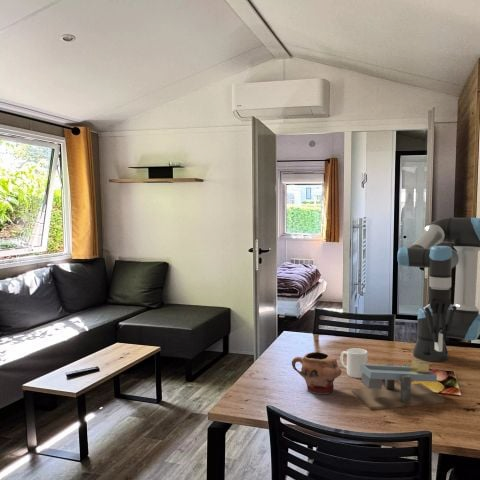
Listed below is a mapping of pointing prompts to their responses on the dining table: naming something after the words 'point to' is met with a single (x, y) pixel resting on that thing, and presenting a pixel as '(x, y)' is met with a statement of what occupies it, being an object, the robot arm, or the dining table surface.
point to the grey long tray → (390, 375)
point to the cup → (354, 361)
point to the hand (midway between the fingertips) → (438, 350)
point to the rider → (419, 367)
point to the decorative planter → (318, 371)
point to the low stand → (397, 395)
